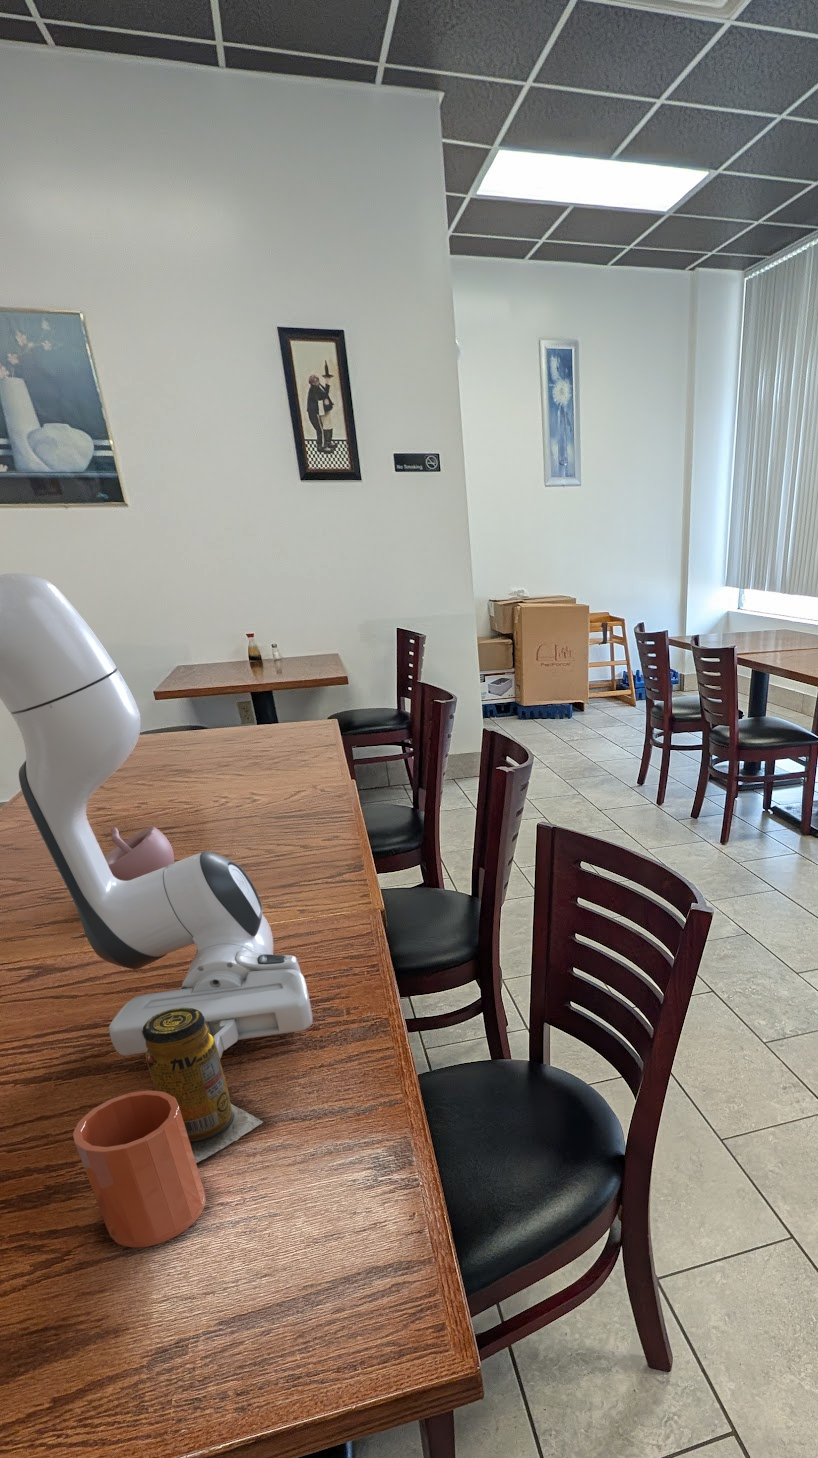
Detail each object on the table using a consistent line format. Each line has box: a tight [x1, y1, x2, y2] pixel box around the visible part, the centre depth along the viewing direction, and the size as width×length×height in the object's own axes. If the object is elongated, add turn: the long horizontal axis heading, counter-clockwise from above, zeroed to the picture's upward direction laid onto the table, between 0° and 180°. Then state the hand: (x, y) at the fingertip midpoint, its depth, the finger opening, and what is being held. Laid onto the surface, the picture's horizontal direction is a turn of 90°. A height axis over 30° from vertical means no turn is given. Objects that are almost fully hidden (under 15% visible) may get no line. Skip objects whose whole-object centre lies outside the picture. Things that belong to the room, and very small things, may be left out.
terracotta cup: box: [72, 1089, 207, 1249], centre depth 68 cm, size 8×8×10 cm
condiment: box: [143, 1007, 264, 1164], centre depth 77 cm, size 7×8×12 cm
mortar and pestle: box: [104, 825, 175, 881], centre depth 134 cm, size 12×12×12 cm
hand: (203, 1055), depth 82 cm, fingers closed
